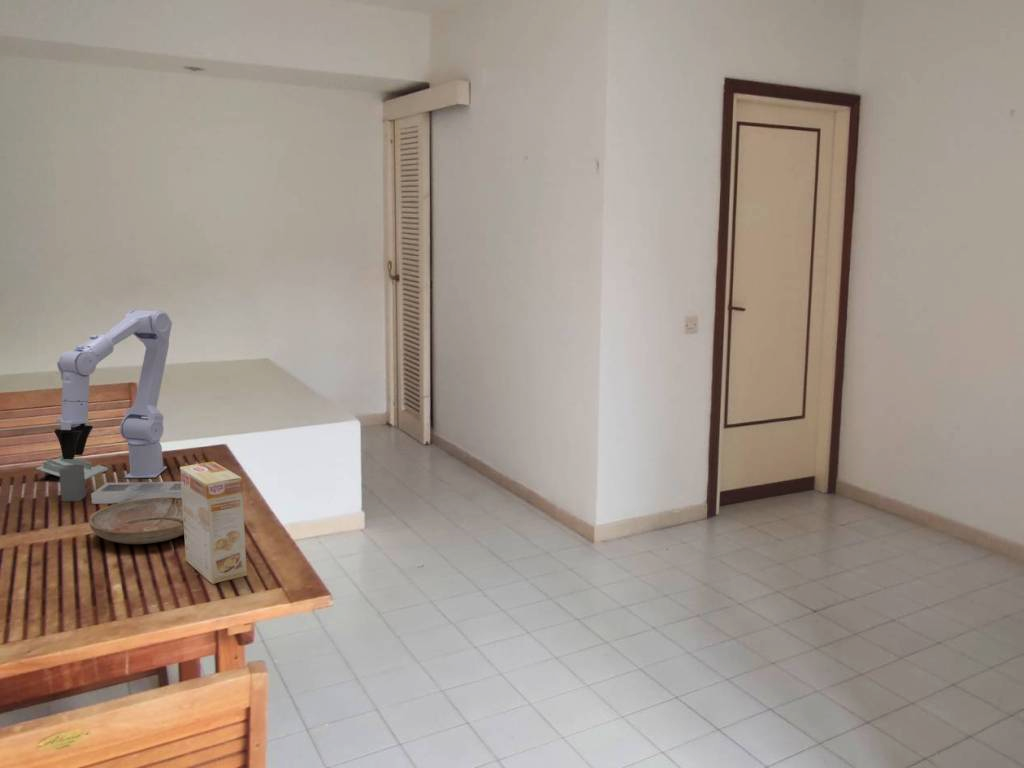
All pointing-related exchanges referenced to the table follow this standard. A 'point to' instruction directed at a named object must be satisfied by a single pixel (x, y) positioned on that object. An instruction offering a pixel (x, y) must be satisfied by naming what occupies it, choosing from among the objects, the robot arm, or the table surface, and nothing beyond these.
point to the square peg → (72, 482)
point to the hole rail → (135, 491)
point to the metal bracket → (57, 464)
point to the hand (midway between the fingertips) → (73, 457)
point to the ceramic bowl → (140, 521)
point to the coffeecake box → (213, 521)
